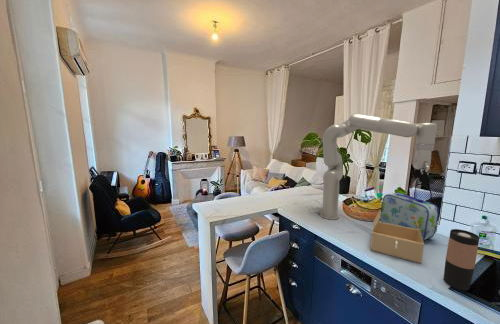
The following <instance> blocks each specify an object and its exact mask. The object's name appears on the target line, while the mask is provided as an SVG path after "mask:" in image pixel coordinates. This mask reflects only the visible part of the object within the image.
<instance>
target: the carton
mask: <svg viewBox="0 0 500 324" xmlns="http://www.w3.org/2000/svg"><path fill="white" fill-rule="evenodd" d="M373 224H374V221H373V222H372V225H373ZM370 241H371V243H370V248H369V249H370V251H372V252H377V253H380V254H383V255H387V254H388V256H391V255H392V256H391V257H395V256H396V258H399V259H404V260H406V259H407V261H410V260H411V261H410V262H414V263H419V264H422V261H423V254H424V246H425V243H424V241H423V242H422V240H421V237H420V234H419V231H418V230H417V229H412V228H407V227H402V226H397V225H392V224H387V223H382V222H381V221H379V223H378V224H377V226H376V228H375V230H374V231H373V229H372V231H371V240H370Z"/></svg>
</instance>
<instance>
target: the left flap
mask: <svg viewBox="0 0 500 324" xmlns="http://www.w3.org/2000/svg"><path fill="white" fill-rule="evenodd" d="M373 222H374V224H373V223H372V230H373V231H374V230H375V228H376V226H377V224H378V223H379V222H381V209H379V210H378V212H377V214H376V215H375V218H374V219H373Z"/></svg>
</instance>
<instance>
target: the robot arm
mask: <svg viewBox="0 0 500 324" xmlns="http://www.w3.org/2000/svg"><path fill="white" fill-rule="evenodd" d="M437 127H438V125H437V124H436V123H435V122H422V123H420V122H419V123H413V122H411V121H410V122H409V121H405V120H404V121H403V120H397V119H392V118H386V117H382V116H376V115H369V114H363V113H353V114H351V115H350V116H349V117H348V119H347V120H345V121H343V122H341V123H335V124H332V125H330V126H328V127H327V128H325V131H324V133H323V135H322V150H323V151H322V153H323V163H324V165H325V166H326V167H327V170H326V171H324V174H323V177H322V179H323V180H322V181H323V193H322V207H318V206H316V207H315V211H316V212H319V216H320V217H321V218H324V219H326V220H332V221H333V220H339V219H340V218H341V216H340V214H339V212H338V211H339V197H340V181H341V180H342V178H343V176H344V167H343V157H342V155H341V153H340V152H339V151H338V142H337V140H338V139H339V138H344V137H346V136H348V135H349V134H353V132H355V131H357V130H363V131H366V132H367V131H369V132H372V133H379V134H386V135H393V136H398V137H403V138H412V137H416V138H415V145H414V150H415V153H414V157H413V163H412V167H413V168H414V171H413V178H415V179H418V181H419V183H428V179H429V172H430V168H431V163H432V152H433V151H434V148H435V142H436V137H437V136H436V134H437V129H438V128H437Z"/></svg>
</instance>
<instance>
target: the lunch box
mask: <svg viewBox="0 0 500 324" xmlns="http://www.w3.org/2000/svg"><path fill="white" fill-rule="evenodd" d="M380 210H381V219H380V222H382V223H387V224H392V225H397V226H402V227H407V228H412V229H417V230H418V228H417V224H416V220H415V217H414V215H416V218H417V221H418V224H419V227H420V231H421V235H422V238H423V241H425V240H427V239H429V240H430V239H432V238H433V237H434V236H435V235H436V233H437V231H438V225H439V223H438V220H439V214H440V210H439V207H438V206H437V205H436V204H435V203H432V202H430V201H427V200H424V199H420V198H417V197H414V196H411V195H408V194H404V193H401V192H393V193H386V194H384V196H383V198H382V201H381V208H380Z"/></svg>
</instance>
